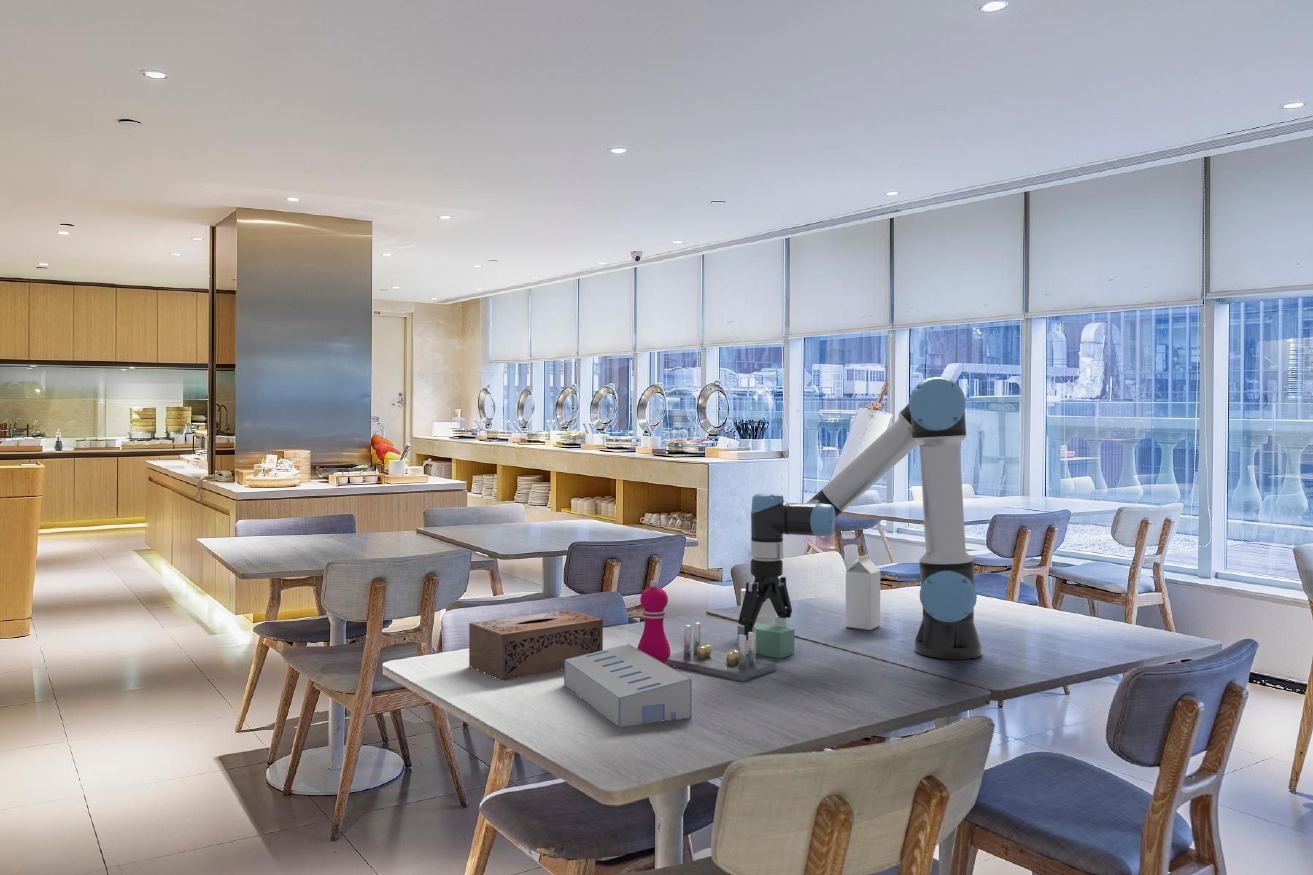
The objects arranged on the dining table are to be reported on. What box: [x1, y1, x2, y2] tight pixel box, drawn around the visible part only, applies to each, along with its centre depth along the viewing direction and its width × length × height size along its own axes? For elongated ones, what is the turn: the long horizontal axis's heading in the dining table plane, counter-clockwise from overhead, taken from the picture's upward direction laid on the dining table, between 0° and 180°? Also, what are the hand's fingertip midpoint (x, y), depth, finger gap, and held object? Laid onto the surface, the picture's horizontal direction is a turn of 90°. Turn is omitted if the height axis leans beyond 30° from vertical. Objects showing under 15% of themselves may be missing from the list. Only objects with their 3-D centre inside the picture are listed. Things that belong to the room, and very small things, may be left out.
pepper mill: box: [637, 579, 671, 665], centre depth 209 cm, size 7×7×20 cm
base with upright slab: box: [740, 588, 778, 626], centre depth 244 cm, size 9×9×12 cm
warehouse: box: [563, 643, 693, 728], centre depth 188 cm, size 30×14×8 cm, turn 24°
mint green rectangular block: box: [737, 623, 795, 659], centre depth 229 cm, size 12×6×6 cm, turn 50°
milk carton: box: [845, 553, 881, 631], centre depth 258 cm, size 7×7×19 cm
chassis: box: [665, 621, 778, 683], centre depth 214 cm, size 22×13×8 cm, turn 50°
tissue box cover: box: [468, 609, 604, 681], centre depth 215 cm, size 26×14×10 cm, turn 128°
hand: (765, 649), depth 229 cm, fingers open, 12 cm apart
